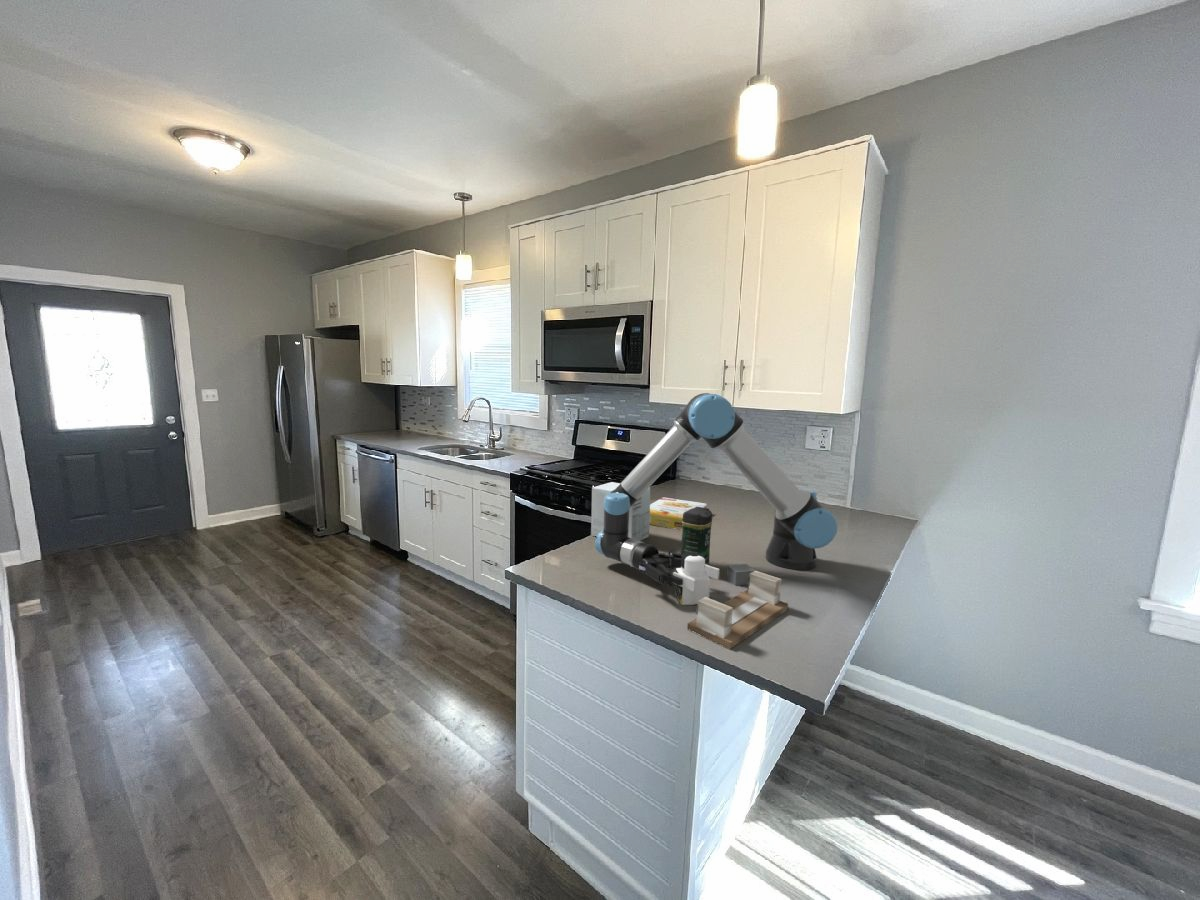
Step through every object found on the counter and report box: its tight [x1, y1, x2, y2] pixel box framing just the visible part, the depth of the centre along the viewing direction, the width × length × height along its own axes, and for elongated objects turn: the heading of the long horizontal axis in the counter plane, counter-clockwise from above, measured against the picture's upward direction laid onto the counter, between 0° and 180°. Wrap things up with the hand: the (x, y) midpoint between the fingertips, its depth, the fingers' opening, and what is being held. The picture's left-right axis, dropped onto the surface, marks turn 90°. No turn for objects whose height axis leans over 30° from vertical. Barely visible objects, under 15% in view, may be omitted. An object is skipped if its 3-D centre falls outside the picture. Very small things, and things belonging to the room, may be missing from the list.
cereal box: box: [649, 497, 708, 530], centre depth 197 cm, size 20×6×28 cm
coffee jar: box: [680, 507, 713, 566], centre depth 144 cm, size 10×8×19 cm
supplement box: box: [590, 481, 651, 542], centre depth 172 cm, size 17×13×18 cm
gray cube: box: [726, 563, 756, 586], centre depth 137 cm, size 6×5×4 cm
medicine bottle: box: [674, 552, 711, 606], centre depth 124 cm, size 7×7×12 cm
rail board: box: [686, 570, 789, 650], centre depth 114 cm, size 27×11×8 cm, turn 134°
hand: (707, 579), depth 121 cm, fingers closed on medicine bottle, 10 cm apart
